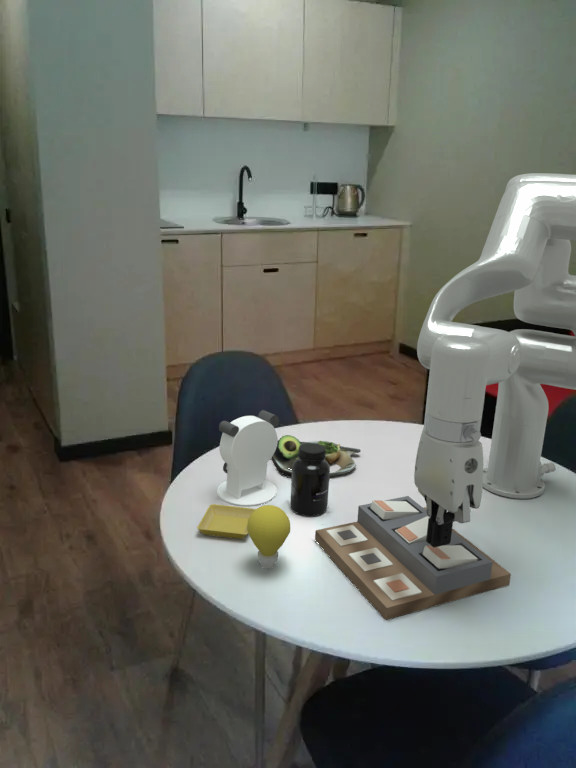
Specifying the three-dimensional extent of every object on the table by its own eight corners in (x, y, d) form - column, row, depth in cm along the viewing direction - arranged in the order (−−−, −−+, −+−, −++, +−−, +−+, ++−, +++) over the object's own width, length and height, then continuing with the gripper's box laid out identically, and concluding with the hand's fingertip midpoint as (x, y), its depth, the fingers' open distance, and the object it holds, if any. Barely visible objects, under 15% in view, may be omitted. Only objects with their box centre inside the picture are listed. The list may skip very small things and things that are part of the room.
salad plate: (348, 443, 153) (349, 424, 152) (375, 477, 136) (377, 456, 135) (265, 448, 149) (265, 428, 147) (282, 484, 132) (283, 462, 131)
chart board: (424, 517, 121) (425, 505, 120) (509, 585, 102) (511, 571, 101) (314, 540, 112) (315, 528, 111) (385, 620, 93) (387, 606, 92)
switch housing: (406, 511, 119) (408, 495, 118) (489, 579, 100) (492, 561, 99) (357, 521, 115) (358, 505, 114) (434, 594, 96) (436, 576, 95)
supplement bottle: (324, 519, 119) (328, 457, 115) (286, 514, 120) (289, 453, 116) (330, 501, 125) (333, 442, 122) (294, 497, 127) (296, 438, 123)
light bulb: (257, 581, 101) (258, 522, 98) (239, 558, 106) (240, 502, 103) (296, 570, 104) (299, 513, 101) (277, 548, 109) (279, 494, 106)
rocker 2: (431, 521, 109) (431, 513, 109) (446, 533, 106) (446, 525, 105) (395, 537, 107) (394, 529, 106) (409, 550, 104) (409, 542, 103)
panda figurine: (253, 472, 136) (254, 403, 131) (291, 493, 128) (294, 419, 123) (205, 489, 128) (204, 416, 123) (242, 512, 120) (243, 435, 116)
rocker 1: (403, 508, 116) (406, 500, 116) (417, 519, 113) (419, 511, 112) (370, 508, 113) (372, 499, 113) (383, 519, 110) (385, 510, 109)
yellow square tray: (246, 545, 111) (246, 534, 110) (196, 539, 112) (196, 527, 111) (257, 519, 119) (258, 508, 118) (210, 513, 120) (210, 503, 120)
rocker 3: (458, 553, 103) (461, 544, 103) (475, 567, 100) (478, 557, 99) (422, 554, 100) (425, 544, 100) (438, 568, 97) (441, 559, 96)
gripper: (511, 442, 87) (492, 565, 93) (441, 405, 100) (428, 514, 106) (464, 450, 84) (448, 576, 90) (398, 411, 97) (388, 523, 103)
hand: (438, 542), depth 98 cm, fingers closed
